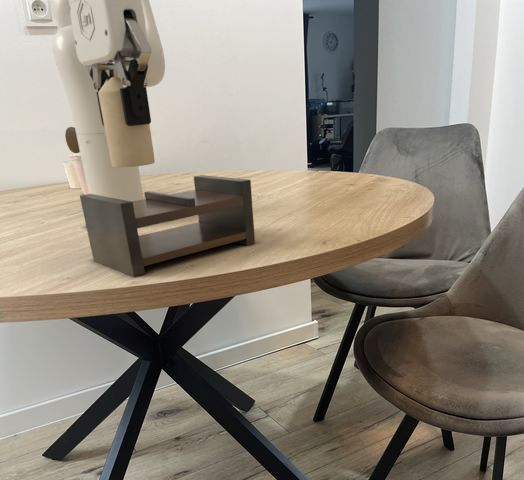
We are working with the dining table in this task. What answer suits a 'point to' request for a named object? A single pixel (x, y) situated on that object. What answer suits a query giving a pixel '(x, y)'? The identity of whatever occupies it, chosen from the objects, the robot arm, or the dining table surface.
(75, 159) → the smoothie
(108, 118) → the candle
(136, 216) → the rack
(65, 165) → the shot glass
